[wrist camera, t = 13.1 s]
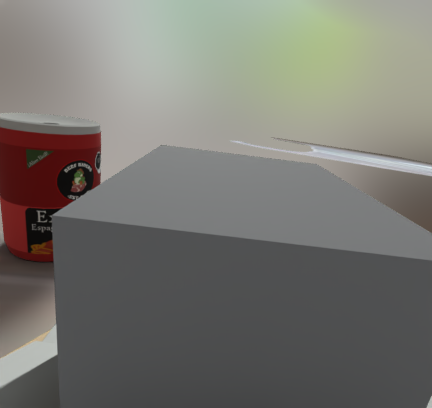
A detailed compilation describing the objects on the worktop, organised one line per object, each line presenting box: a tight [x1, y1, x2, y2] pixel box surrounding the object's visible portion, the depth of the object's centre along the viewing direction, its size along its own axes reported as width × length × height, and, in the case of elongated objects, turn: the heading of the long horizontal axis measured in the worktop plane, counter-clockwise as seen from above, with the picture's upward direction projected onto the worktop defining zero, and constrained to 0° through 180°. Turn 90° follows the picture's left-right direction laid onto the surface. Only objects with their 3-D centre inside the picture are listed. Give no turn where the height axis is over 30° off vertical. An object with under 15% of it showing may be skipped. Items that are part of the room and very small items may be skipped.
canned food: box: [0, 113, 101, 262], centre depth 27 cm, size 8×8×11 cm
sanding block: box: [52, 145, 432, 408], centre depth 8 cm, size 6×4×10 cm
